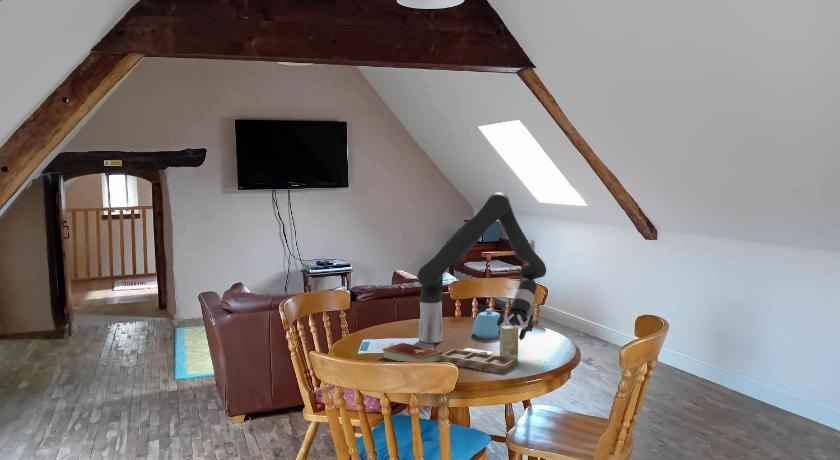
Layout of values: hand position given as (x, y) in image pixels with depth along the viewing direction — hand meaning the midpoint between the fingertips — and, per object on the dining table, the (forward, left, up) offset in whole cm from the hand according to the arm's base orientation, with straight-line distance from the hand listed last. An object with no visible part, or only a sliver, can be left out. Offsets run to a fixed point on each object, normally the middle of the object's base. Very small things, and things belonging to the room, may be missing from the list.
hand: (510, 337), depth 247 cm
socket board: (-7, -14, -8) cm, 17 cm away
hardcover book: (-32, -20, -8) cm, 39 cm away
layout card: (-14, -2, -8) cm, 16 cm away
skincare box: (0, -1, -8) cm, 8 cm away
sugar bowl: (-23, +27, -8) cm, 36 cm away
